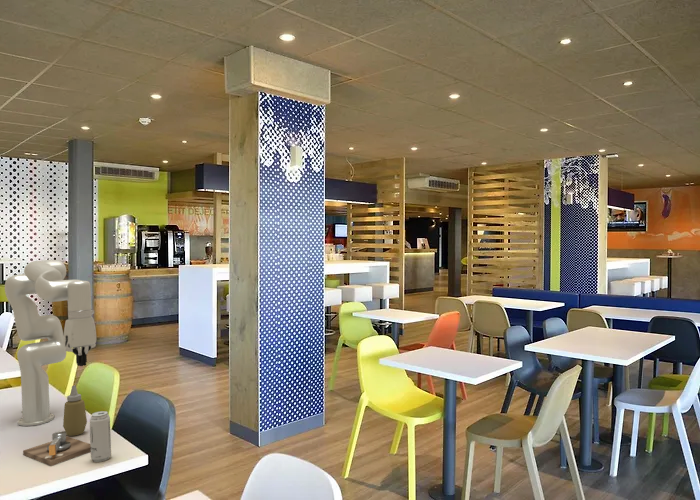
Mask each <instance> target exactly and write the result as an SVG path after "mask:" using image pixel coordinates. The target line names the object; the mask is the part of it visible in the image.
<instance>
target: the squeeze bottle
mask: <svg viewBox="0 0 700 500" xmlns="http://www.w3.org/2000/svg"><path fill="white" fill-rule="evenodd" d="M70 389H71V390H70V394H69V395H67V396H66V398H67V399H66V400H67V401H66V402H64V408H63V421H62V427H63V429H64V432H66V436H68V437H74V436H78V435H82V434H83V433H84V432H85V430H86V427H87V423H88V420H87V412H86V405H85V400H83V399H82V394H80V393H78V389H77V387H76V385H74V384H73V385H72V386H71V388H70Z"/></svg>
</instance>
